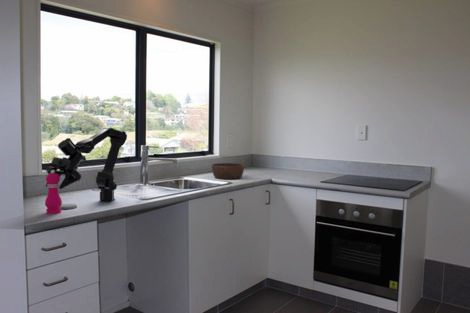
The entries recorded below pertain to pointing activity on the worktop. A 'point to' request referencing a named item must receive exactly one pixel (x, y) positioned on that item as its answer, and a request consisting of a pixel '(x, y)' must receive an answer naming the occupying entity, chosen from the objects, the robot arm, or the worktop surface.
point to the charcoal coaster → (67, 206)
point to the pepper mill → (53, 194)
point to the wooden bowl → (227, 170)
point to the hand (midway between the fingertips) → (53, 187)
